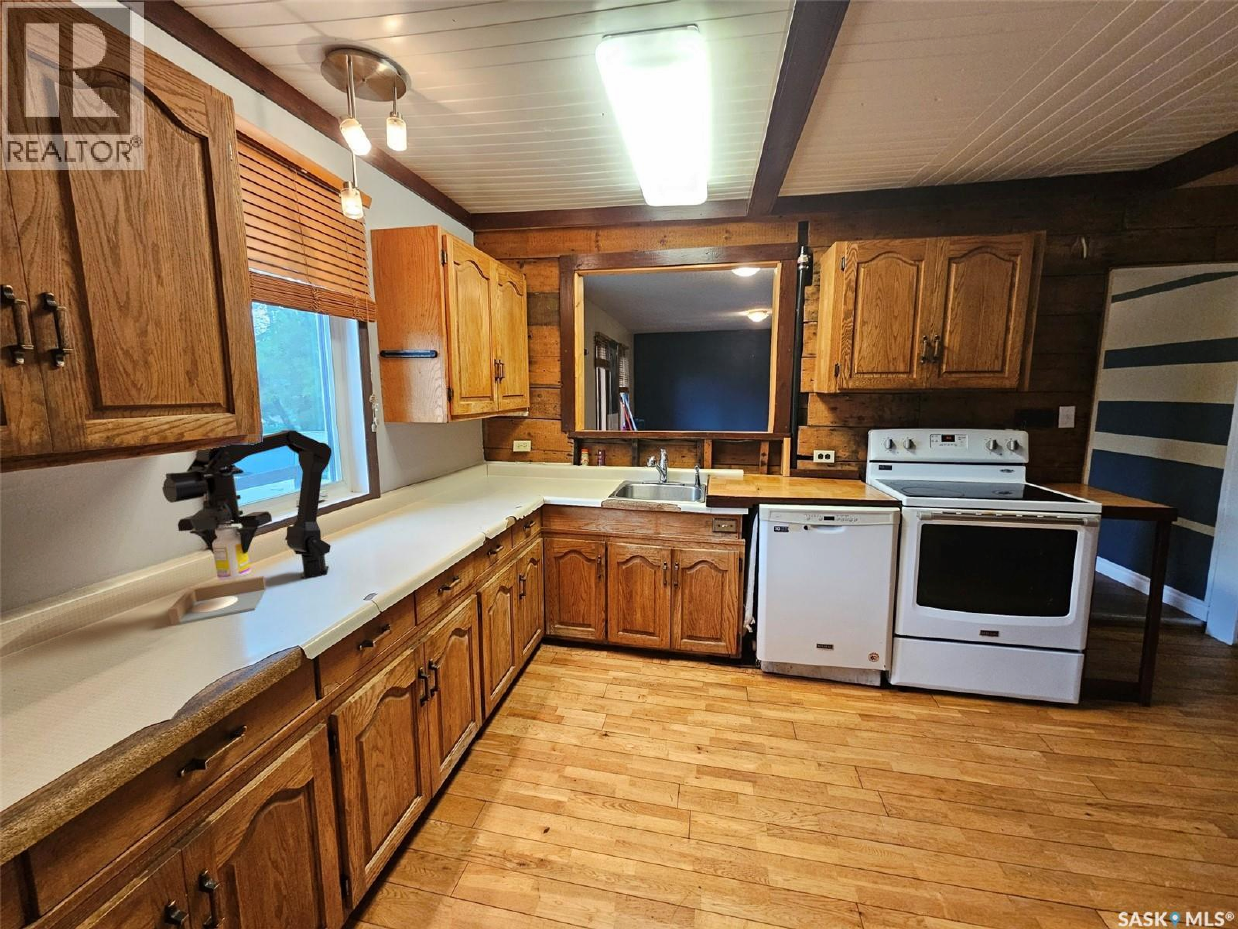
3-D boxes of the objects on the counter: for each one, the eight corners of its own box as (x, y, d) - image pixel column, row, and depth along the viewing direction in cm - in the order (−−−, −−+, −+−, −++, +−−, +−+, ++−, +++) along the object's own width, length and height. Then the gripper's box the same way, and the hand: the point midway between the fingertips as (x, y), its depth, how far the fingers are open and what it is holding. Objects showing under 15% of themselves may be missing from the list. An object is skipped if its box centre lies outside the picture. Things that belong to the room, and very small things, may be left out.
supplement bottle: (250, 569, 127) (243, 522, 125) (251, 576, 122) (244, 527, 120) (218, 575, 123) (210, 527, 121) (217, 583, 118) (209, 533, 116)
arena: (191, 602, 125) (188, 588, 124) (266, 589, 132) (263, 575, 131) (171, 625, 112) (168, 609, 112) (255, 609, 119) (252, 594, 119)
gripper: (153, 503, 111) (164, 567, 113) (240, 498, 113) (249, 562, 115) (190, 493, 122) (200, 551, 124) (269, 489, 124) (277, 547, 126)
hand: (230, 553), depth 122 cm, fingers closed on supplement bottle, 7 cm apart
